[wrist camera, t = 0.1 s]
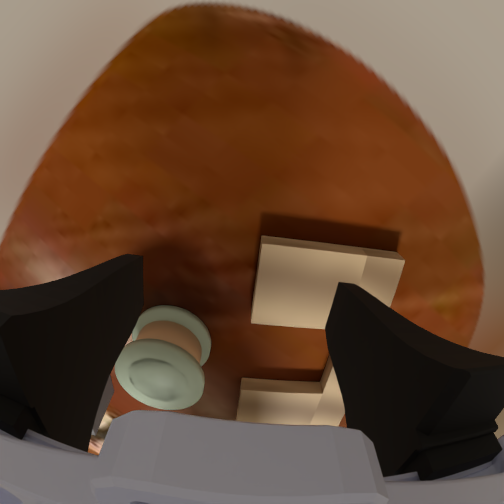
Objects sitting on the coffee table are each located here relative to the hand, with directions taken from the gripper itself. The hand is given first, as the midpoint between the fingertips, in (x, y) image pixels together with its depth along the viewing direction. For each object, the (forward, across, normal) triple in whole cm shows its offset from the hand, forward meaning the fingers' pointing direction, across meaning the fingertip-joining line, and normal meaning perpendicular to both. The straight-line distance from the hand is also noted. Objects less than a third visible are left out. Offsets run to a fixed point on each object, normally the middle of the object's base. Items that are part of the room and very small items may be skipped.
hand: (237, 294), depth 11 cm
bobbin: (+10, +4, +11) cm, 15 cm away
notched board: (+10, -6, +10) cm, 16 cm away
